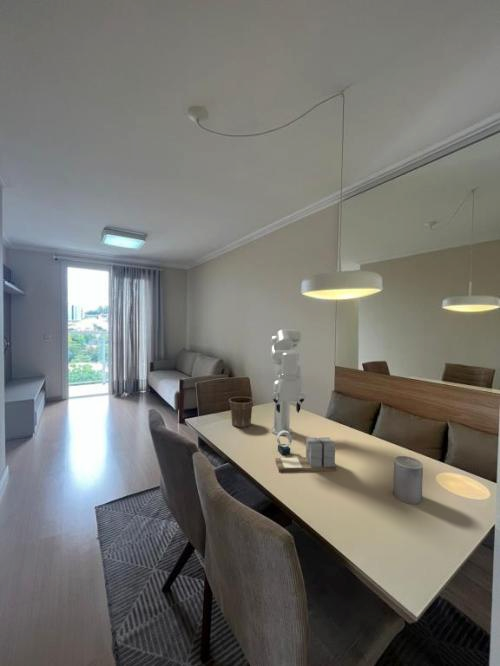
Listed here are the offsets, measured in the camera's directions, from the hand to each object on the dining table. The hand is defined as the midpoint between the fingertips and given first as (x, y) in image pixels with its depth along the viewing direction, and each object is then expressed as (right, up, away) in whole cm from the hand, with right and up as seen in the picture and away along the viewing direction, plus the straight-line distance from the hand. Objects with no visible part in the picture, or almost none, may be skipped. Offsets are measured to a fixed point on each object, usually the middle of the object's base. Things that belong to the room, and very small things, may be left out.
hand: (288, 411), depth 140 cm
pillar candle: (+41, -24, -32) cm, 57 cm away
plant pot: (-25, -20, +44) cm, 54 cm away
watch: (-2, -22, +4) cm, 23 cm away
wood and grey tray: (+7, -22, -9) cm, 25 cm away
